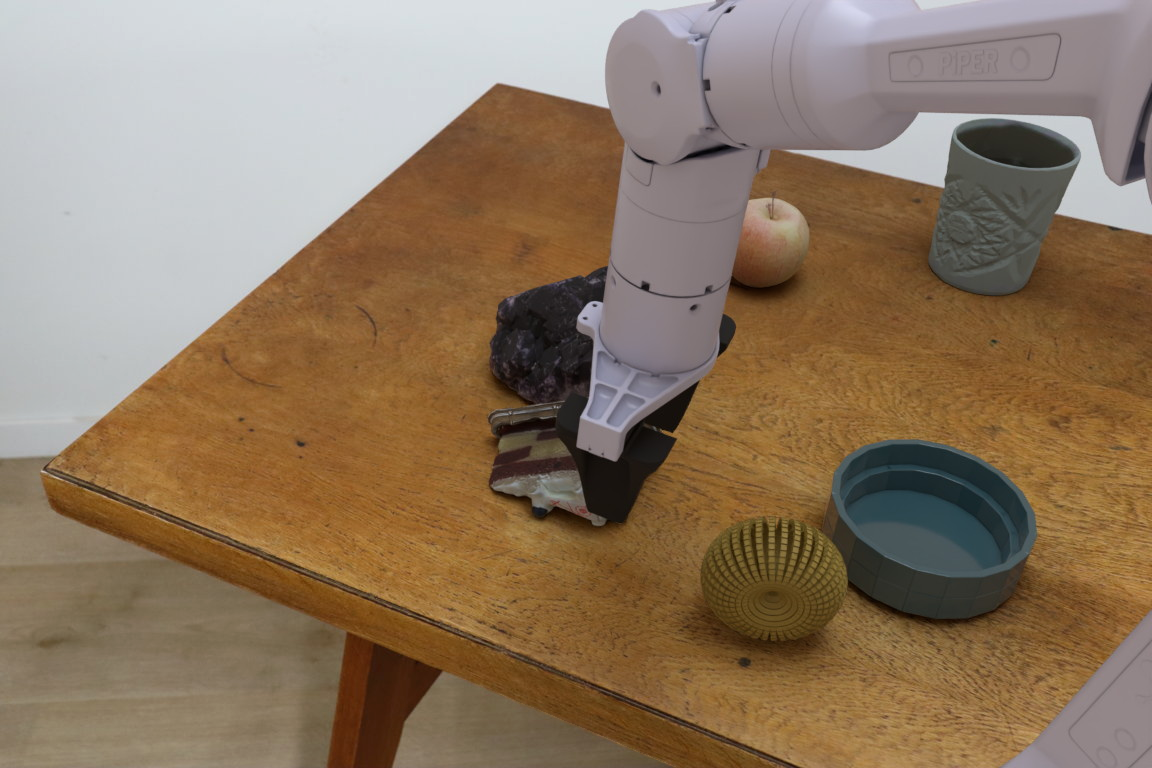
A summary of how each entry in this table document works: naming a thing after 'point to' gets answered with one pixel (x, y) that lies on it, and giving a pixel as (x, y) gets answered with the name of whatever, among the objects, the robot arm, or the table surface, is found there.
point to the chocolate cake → (537, 460)
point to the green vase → (998, 203)
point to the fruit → (770, 243)
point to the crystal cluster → (546, 339)
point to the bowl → (929, 528)
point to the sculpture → (774, 578)
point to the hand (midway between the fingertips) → (633, 466)
